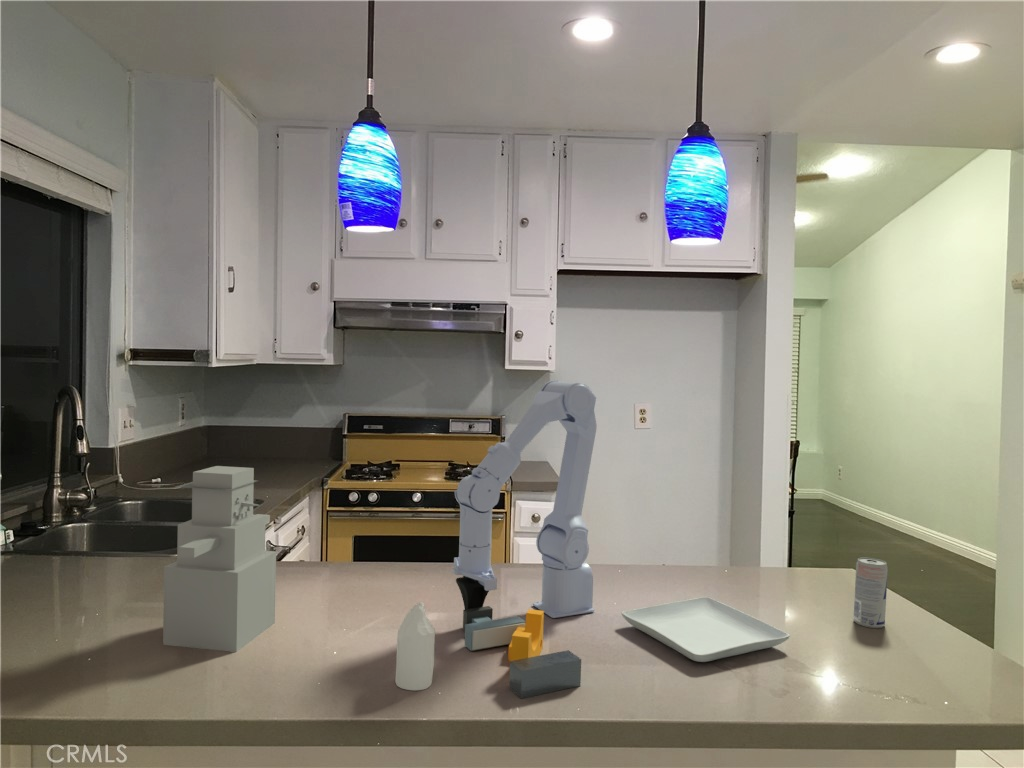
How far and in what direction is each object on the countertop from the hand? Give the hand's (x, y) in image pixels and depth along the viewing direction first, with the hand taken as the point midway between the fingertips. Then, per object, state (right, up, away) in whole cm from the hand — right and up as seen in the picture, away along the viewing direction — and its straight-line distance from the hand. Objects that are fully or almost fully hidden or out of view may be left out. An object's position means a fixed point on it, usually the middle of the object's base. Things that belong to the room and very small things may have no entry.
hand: (473, 618), depth 129 cm
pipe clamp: (+9, -3, -14) cm, 17 cm away
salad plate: (+41, -3, -2) cm, 41 cm away
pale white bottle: (-7, -2, -23) cm, 24 cm away
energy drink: (+75, -4, +8) cm, 75 cm away
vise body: (+12, -3, -23) cm, 26 cm away
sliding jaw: (+3, -1, -5) cm, 6 cm away
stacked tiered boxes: (-43, -1, -7) cm, 43 cm away
